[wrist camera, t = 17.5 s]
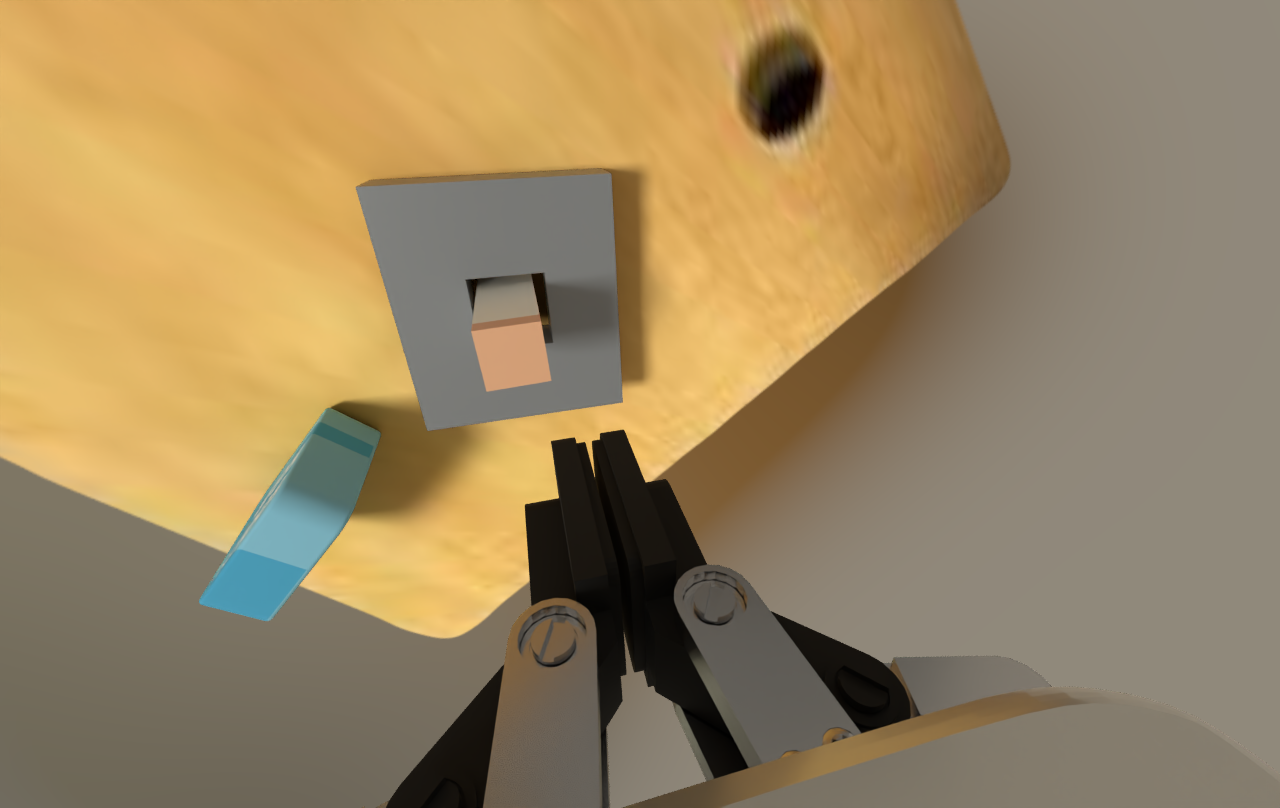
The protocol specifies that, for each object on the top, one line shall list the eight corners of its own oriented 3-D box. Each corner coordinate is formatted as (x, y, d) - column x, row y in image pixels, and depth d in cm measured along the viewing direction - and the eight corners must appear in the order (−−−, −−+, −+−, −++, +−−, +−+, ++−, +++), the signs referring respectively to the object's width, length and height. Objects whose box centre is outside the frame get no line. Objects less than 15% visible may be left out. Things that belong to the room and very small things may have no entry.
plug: (478, 275, 38) (471, 331, 28) (530, 268, 39) (541, 321, 29) (489, 323, 40) (486, 391, 30) (538, 316, 41) (551, 380, 31)
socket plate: (369, 180, 34) (355, 186, 30) (600, 168, 37) (611, 173, 33) (432, 406, 43) (427, 430, 39) (613, 381, 46) (622, 402, 42)
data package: (332, 399, 40) (277, 493, 30) (385, 425, 43) (350, 520, 33) (261, 498, 43) (189, 614, 33) (315, 517, 45) (263, 631, 35)
